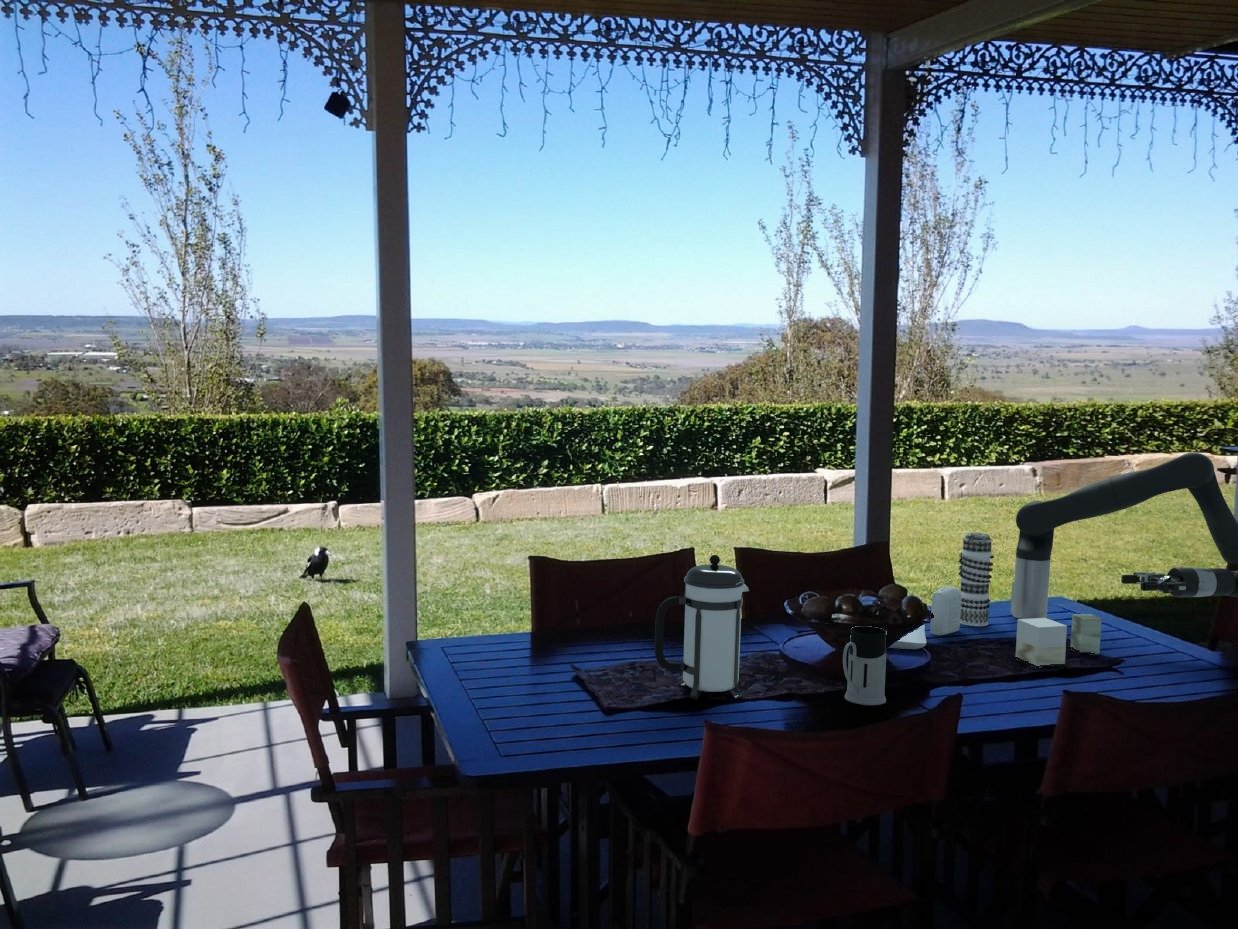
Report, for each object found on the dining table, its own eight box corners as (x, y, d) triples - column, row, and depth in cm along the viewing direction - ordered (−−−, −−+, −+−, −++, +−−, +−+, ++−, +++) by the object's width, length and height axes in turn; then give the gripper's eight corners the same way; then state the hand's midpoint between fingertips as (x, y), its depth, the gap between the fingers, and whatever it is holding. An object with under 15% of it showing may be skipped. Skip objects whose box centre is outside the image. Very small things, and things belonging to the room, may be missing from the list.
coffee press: (698, 675, 249) (702, 545, 246) (758, 691, 239) (763, 555, 236) (651, 693, 236) (655, 555, 233) (712, 709, 226) (717, 566, 223)
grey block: (1016, 639, 270) (1017, 619, 269) (1043, 637, 272) (1045, 617, 272) (1037, 648, 262) (1038, 627, 262) (1065, 646, 264) (1067, 625, 264)
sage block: (1070, 648, 281) (1072, 614, 280) (1088, 648, 281) (1091, 614, 280) (1080, 654, 276) (1082, 619, 275) (1099, 654, 276) (1101, 619, 275)
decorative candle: (967, 616, 312) (972, 530, 310) (996, 623, 305) (1002, 534, 303) (948, 621, 306) (953, 532, 304) (978, 628, 299) (983, 537, 297)
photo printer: (947, 627, 299) (950, 583, 298) (961, 630, 296) (964, 585, 295) (927, 633, 292) (930, 588, 291) (942, 637, 289) (944, 591, 288)
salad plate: (839, 648, 277) (839, 635, 276) (842, 628, 297) (843, 616, 297) (926, 656, 272) (927, 642, 271) (923, 635, 292) (924, 622, 292)
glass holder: (893, 698, 236) (897, 630, 235) (860, 714, 226) (863, 642, 224) (857, 689, 242) (860, 623, 240) (823, 704, 231) (826, 634, 230)
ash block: (1015, 659, 270) (1016, 639, 270) (1042, 657, 273) (1043, 637, 272) (1036, 668, 263) (1038, 648, 262) (1064, 666, 265) (1065, 646, 265)
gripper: (1175, 562, 286) (1116, 562, 284) (1210, 573, 272) (1149, 573, 270) (1173, 590, 287) (1114, 591, 285) (1208, 602, 273) (1147, 603, 271)
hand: (1131, 582), depth 278 cm, fingers open, 8 cm apart
